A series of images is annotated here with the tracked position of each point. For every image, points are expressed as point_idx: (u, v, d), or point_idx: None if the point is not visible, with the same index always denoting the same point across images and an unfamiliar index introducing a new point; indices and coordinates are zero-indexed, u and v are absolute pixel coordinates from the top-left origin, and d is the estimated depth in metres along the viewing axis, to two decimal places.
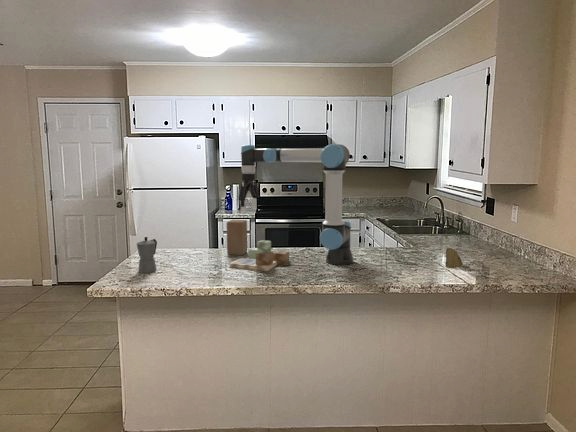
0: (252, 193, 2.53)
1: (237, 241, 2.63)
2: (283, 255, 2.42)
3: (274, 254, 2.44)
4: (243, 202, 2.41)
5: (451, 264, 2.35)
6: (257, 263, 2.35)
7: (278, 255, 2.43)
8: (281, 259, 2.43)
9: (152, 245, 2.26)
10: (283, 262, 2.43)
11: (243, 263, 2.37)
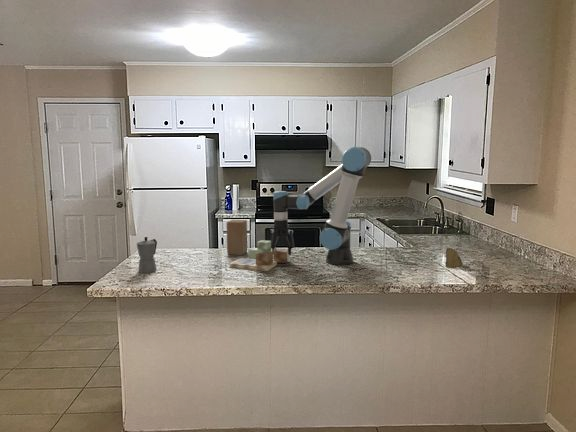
0: None
1: (237, 241, 2.63)
2: (284, 253, 2.42)
3: (275, 252, 2.44)
4: (272, 249, 2.47)
5: (451, 264, 2.35)
6: (257, 263, 2.35)
7: (279, 253, 2.43)
8: (282, 257, 2.43)
9: (152, 245, 2.26)
10: (284, 260, 2.42)
11: (243, 263, 2.37)
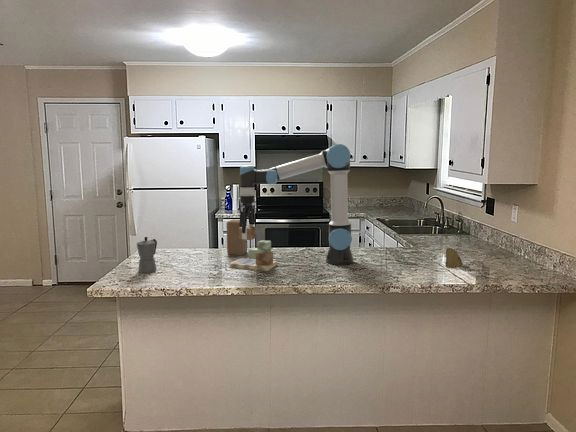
0: (249, 218, 2.40)
1: (237, 241, 2.63)
2: (255, 228, 2.39)
3: (251, 230, 2.34)
4: (244, 228, 2.33)
5: (451, 264, 2.35)
6: (257, 263, 2.35)
7: (253, 229, 2.36)
8: (254, 233, 2.38)
9: (152, 245, 2.26)
10: (255, 235, 2.40)
11: (243, 263, 2.37)
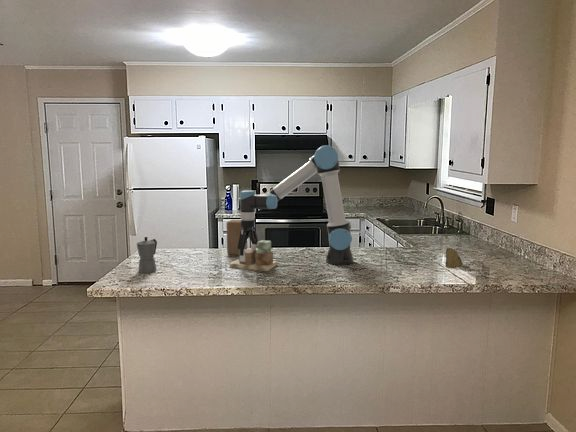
0: (252, 239, 2.43)
1: (237, 241, 2.63)
2: (256, 251, 2.41)
3: (251, 253, 2.36)
4: (242, 251, 2.32)
5: (451, 264, 2.35)
6: (257, 263, 2.35)
7: (253, 253, 2.38)
8: (255, 256, 2.40)
9: (152, 245, 2.26)
10: None
11: (243, 263, 2.37)
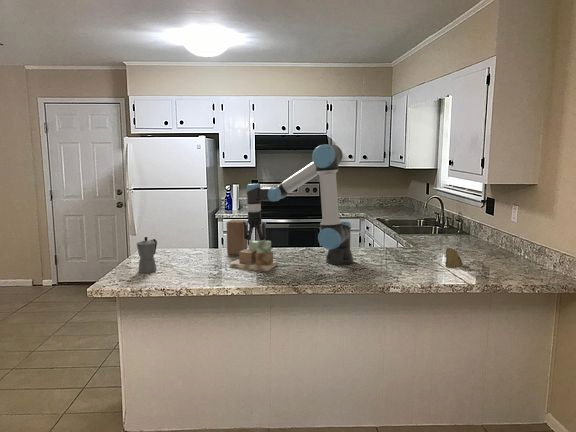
0: None
1: (237, 241, 2.63)
2: (256, 251, 2.41)
3: (251, 253, 2.36)
4: (248, 241, 2.54)
5: (451, 264, 2.35)
6: (257, 263, 2.35)
7: (253, 253, 2.38)
8: (255, 256, 2.40)
9: (152, 245, 2.26)
10: None
11: (243, 263, 2.37)
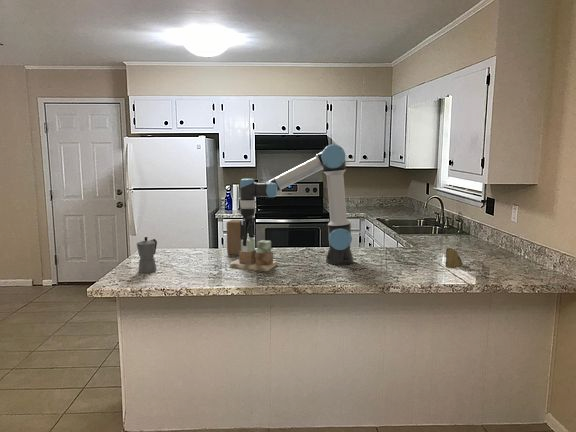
0: (249, 230, 2.40)
1: (237, 241, 2.63)
2: (256, 251, 2.41)
3: (251, 253, 2.36)
4: (245, 241, 2.34)
5: (451, 264, 2.35)
6: (257, 263, 2.35)
7: (253, 253, 2.38)
8: (255, 256, 2.40)
9: (152, 245, 2.26)
10: None
11: (243, 263, 2.37)
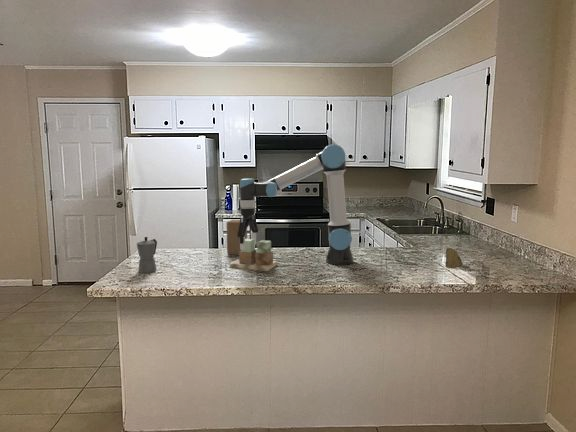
0: (252, 228, 2.42)
1: (237, 241, 2.63)
2: (256, 251, 2.41)
3: (251, 253, 2.36)
4: (242, 239, 2.31)
5: (451, 264, 2.35)
6: (257, 263, 2.35)
7: (253, 253, 2.38)
8: (255, 256, 2.40)
9: (152, 245, 2.26)
10: None
11: (243, 263, 2.37)
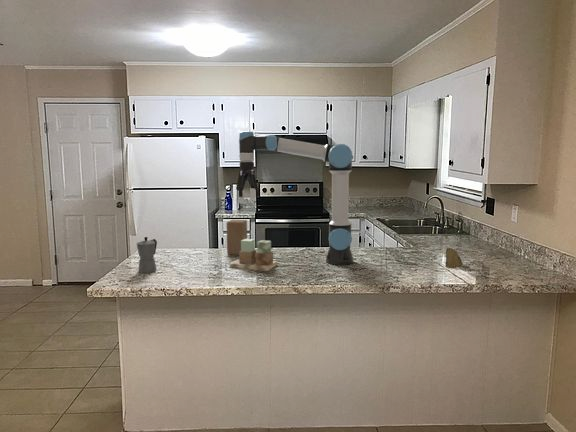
0: (251, 183, 2.39)
1: (237, 241, 2.63)
2: (256, 251, 2.41)
3: (251, 253, 2.36)
4: (241, 192, 2.27)
5: (451, 264, 2.35)
6: (257, 263, 2.35)
7: (253, 253, 2.38)
8: (255, 256, 2.40)
9: (152, 245, 2.26)
10: None
11: (243, 263, 2.37)
